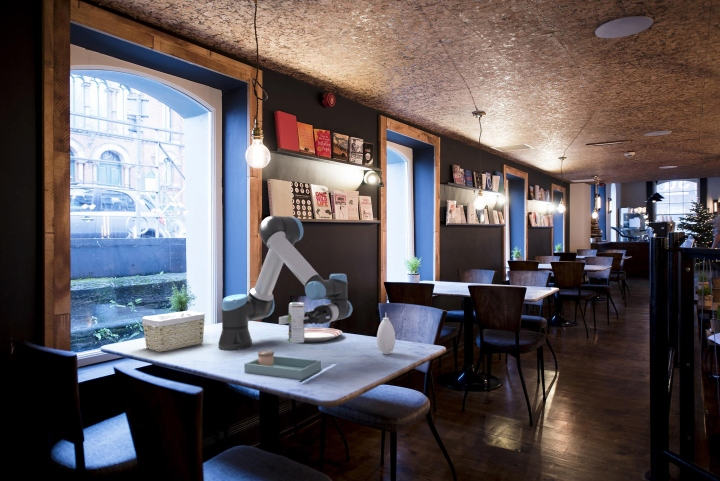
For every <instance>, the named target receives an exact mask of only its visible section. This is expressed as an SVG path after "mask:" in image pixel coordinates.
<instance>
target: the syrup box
mask: <svg viewBox="0 0 720 481" xmlns="http://www.w3.org/2000/svg"><path fill="white" fill-rule="evenodd" d="M304 311H305V302H303V301H302V302H301V301H299V302H298V301H293V302H290V303H289V304H288V314H289V323H288V331H289V335H288V343H289V344H297V343H298V344H299V343H304V342H305V341H304V328H305V325H303V326H299V327H296V319H300V318H304Z"/></svg>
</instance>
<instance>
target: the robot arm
mask: <svg viewBox="0 0 720 481" xmlns="http://www.w3.org/2000/svg"><path fill="white" fill-rule="evenodd" d="M258 231H259V237H260V239H261V240H262V242H263V244H264V245H265V246H266V248H268V252H267V253H266V256H265V259H264V260H263V261H264V262H263V264H262V267H261V270H260V273H259V276H258V278H257V280H256V283H255V286H254V287H252V288H250V290H249V293H248V295H247V294H245V293H239V294H232V295H231V294H230V295H227V296H226V297H224V298H223V299H222V302H221V327H222V328H221V333H220V337H219V341H218V345H217V347H218V348H219V349H221V350H228V351H229V350H230V351H233V350H235V351H237V350H243V349H248V348H250V347H252V346H253V340H252V337H251V333H250V330H249V322H250V321H256V320H263V319H265V318H268V317H269V316H271V315H272V314H273V312H274V311H275V310H274V309H275V306H276V305H275V300H274V294H273V291H274V288H275V286H276V284H277V281H278V278H279V275H280V274H281V273H280V272H281V270H282V267H283V266H284V265H286V267H287V268H288V269H289V270H290V271H291V272H292V274H293V275H294V276H295V277H296V278H297V279H298V281H299V282H300V283H301V284H302V285H303V286H304V292H305V296H306V297H307V299H309V300H310V301H321V300H326V299H329V303H324V304H321V305H320V304H319V305H317V306H315V307H314V309H313V310H309V311H305V310H304V318H300V319H296V327H299V326H303V325H304V326H306V325H313V324H314V325H318V324H319V325H323V324H331V322H335V321H338V320H344V319H346V318H348V317H350V316H351V315H352V312H353V305H352V303H351V302H350V301H349V300H348V299H349V298H348V278H347V277H348V276H347V274H345V273H331V274H330V275H329V279H323V277H321V276H320V274H319V273H318V272H317V271H316V270H315V269H314V268H313V267H312V265H311V264H310V263H309V262H308V261H307V260H306V259H305V258H304V256H303V255H302V254H301V253H300V252H299V251H298V249H297V248H295V247H294V246H295V244H296V242H299V241H301V239H302V238H303V236H304V226H303V223H302V222H301V221H300V219H299V218H297V217H294V216H279V215H270V216H267V217H265V218H264V219H263V220H262V221H261V223H260V225H259V229H258ZM286 324H289V313H287V314H286V315H283V316H279V317H278V325H279V326H281V325H286Z"/></svg>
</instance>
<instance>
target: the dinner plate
mask: <svg viewBox="0 0 720 481" xmlns="http://www.w3.org/2000/svg"><path fill="white" fill-rule="evenodd" d="M342 334H343V331H342V330H341V329H340V330H339V329H335V328H330V327H329V328H328V327H304V342H312V343H313V342H326V341H329V340H332V339H334V338H336V337H339V336H340V335H342ZM286 335H287V336H289V330H288V331H287V332H286Z"/></svg>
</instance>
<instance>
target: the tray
mask: <svg viewBox="0 0 720 481" xmlns="http://www.w3.org/2000/svg"><path fill="white" fill-rule="evenodd" d="M273 364H274V367H273V366H264V365H259V362H258V358H256V359H253V360H250V361H249V362H248V361H247V362H246V363H244V367H243V368H244V369H243V370H244V373H247V374H256V375H264V376H272V377H280V378H288V379H293V380H298V382H299V383H302V382H305V381H306V380H308V379H310V378H312V377H314V376H316V375H317V374H319V373H321V372H322V360H319V359H316V360H314V359H307V358H299V357H298V358H297V357H290V356H289V357H288V356H278V355H273Z"/></svg>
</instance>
